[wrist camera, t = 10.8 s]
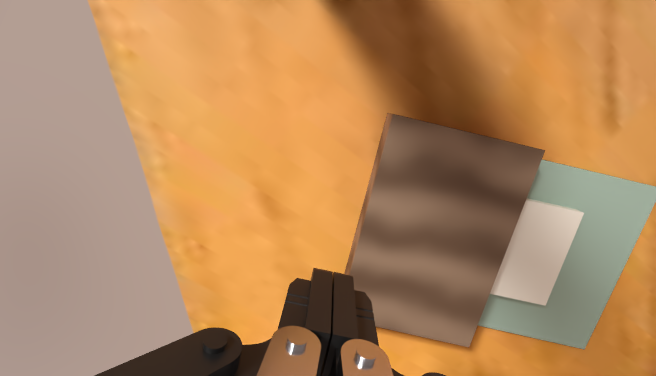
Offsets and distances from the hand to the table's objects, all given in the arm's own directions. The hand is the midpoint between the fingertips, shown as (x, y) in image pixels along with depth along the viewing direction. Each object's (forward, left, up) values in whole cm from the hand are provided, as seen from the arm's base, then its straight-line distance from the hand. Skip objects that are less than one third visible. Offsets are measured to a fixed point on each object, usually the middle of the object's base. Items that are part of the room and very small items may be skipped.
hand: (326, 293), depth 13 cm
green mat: (+5, +29, -28) cm, 40 cm away
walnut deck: (+5, +12, -28) cm, 31 cm away
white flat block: (+4, +25, -28) cm, 37 cm away
